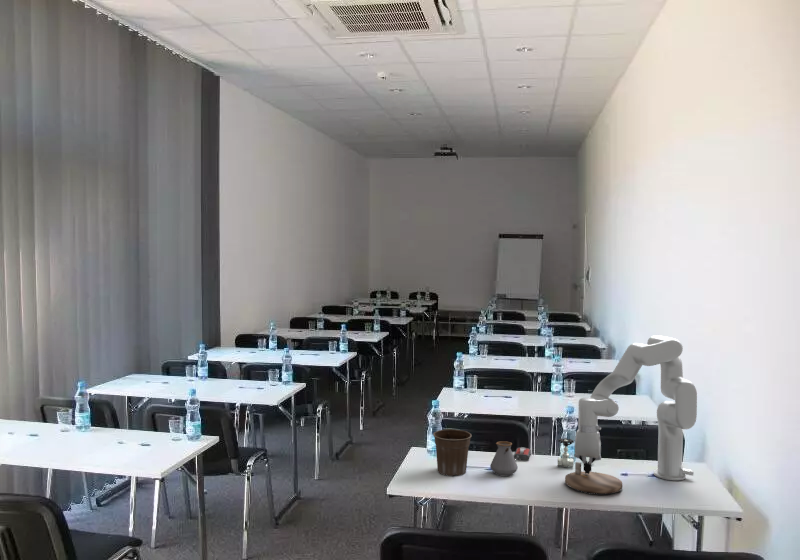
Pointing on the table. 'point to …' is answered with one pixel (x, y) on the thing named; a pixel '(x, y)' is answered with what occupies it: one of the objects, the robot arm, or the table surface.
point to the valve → (565, 454)
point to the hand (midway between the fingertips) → (587, 472)
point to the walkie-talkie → (522, 454)
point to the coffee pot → (504, 460)
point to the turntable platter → (592, 481)
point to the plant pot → (452, 451)
